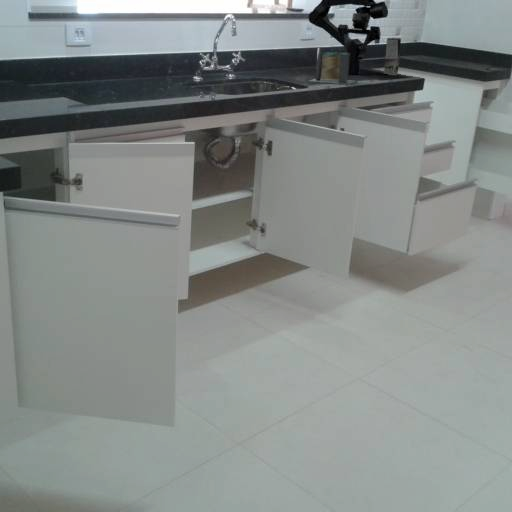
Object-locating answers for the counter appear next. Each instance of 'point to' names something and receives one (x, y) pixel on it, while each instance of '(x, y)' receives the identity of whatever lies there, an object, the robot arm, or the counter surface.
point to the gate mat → (332, 81)
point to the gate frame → (342, 70)
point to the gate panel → (332, 65)
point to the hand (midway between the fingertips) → (354, 46)
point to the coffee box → (392, 56)
